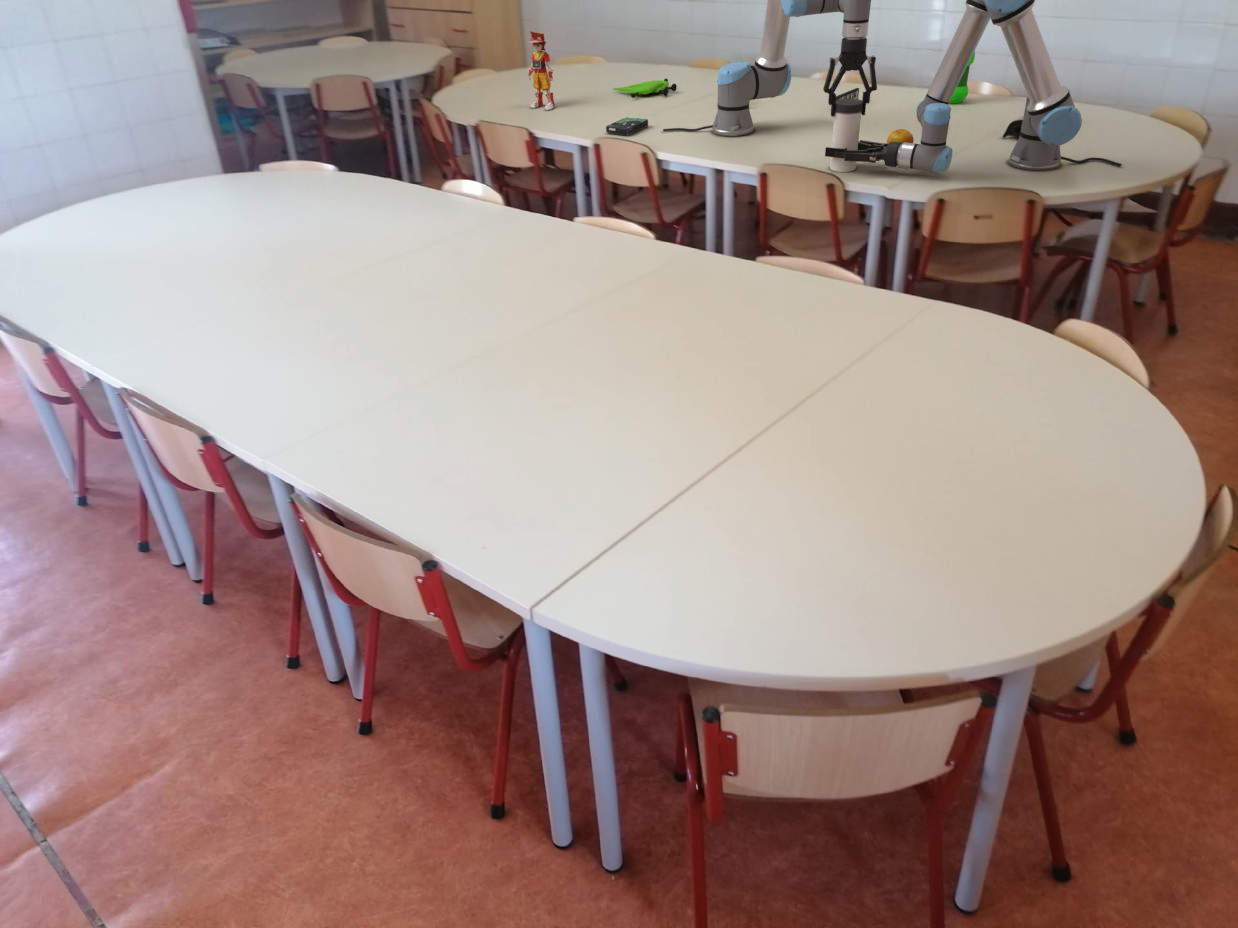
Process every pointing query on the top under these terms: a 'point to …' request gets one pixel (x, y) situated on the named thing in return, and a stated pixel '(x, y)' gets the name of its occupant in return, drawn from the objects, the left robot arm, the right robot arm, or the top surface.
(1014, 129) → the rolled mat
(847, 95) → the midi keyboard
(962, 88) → the plastic bottle
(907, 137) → the fruit
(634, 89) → the toy
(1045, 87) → the right robot arm
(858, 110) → the lid
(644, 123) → the disk drive
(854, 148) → the jar
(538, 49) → the toy
